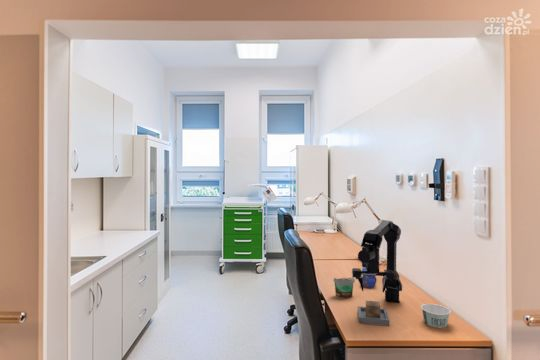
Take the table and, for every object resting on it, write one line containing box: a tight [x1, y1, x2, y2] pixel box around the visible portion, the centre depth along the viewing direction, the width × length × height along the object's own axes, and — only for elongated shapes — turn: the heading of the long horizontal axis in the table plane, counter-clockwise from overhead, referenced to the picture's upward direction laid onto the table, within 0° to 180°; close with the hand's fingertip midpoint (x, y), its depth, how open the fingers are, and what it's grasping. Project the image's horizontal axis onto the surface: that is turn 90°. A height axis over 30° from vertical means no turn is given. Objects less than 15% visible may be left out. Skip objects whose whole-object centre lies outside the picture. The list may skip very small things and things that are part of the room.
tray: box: [357, 305, 390, 326], centre depth 151 cm, size 13×13×2 cm
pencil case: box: [361, 267, 377, 288], centre depth 202 cm, size 22×9×10 cm, turn 163°
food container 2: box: [420, 303, 452, 329], centre depth 145 cm, size 12×12×6 cm
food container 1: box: [333, 275, 356, 299], centre depth 178 cm, size 12×6×10 cm, turn 105°
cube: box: [365, 300, 381, 318], centre depth 151 cm, size 6×6×6 cm
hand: (372, 291), depth 152 cm, fingers open, 9 cm apart
